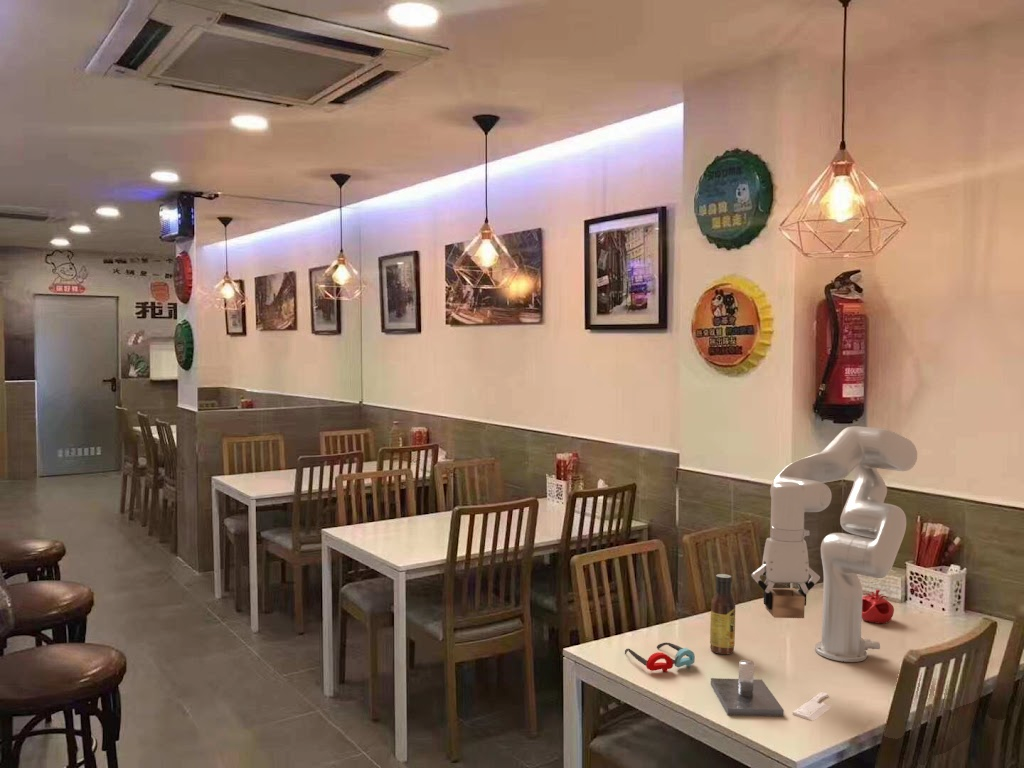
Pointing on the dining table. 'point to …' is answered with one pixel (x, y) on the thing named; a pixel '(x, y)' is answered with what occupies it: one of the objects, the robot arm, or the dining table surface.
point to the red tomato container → (876, 608)
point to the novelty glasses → (666, 658)
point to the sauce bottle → (722, 617)
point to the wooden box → (787, 603)
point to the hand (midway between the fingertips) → (784, 607)
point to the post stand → (746, 694)
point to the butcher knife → (812, 708)
